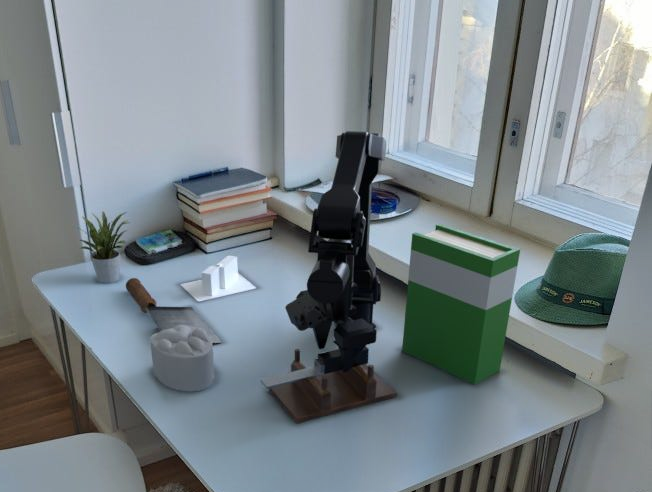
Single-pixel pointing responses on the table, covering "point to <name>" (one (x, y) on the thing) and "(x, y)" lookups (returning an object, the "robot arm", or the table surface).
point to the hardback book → (459, 301)
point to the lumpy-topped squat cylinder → (183, 358)
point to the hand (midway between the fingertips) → (333, 359)
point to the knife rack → (331, 391)
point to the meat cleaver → (166, 311)
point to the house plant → (105, 249)
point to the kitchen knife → (315, 368)
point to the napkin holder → (219, 281)
